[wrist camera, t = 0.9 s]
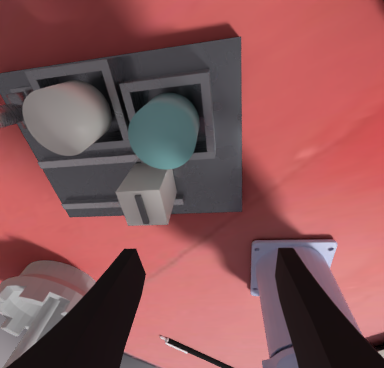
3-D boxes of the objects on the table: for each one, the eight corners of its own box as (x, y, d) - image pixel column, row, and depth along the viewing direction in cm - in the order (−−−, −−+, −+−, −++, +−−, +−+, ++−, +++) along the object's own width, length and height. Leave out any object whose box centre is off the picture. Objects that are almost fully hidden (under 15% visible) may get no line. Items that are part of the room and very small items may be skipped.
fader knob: (176, 192, 19) (167, 226, 15) (143, 193, 19) (127, 227, 16) (170, 161, 17) (158, 191, 14) (134, 163, 18) (114, 193, 14)
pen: (162, 332, 37) (160, 340, 36) (241, 369, 42) (242, 377, 42) (159, 334, 38) (157, 341, 37) (238, 370, 43) (239, 378, 42)
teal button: (202, 147, 14) (199, 167, 12) (150, 151, 15) (138, 171, 13) (196, 89, 13) (191, 99, 10) (136, 96, 13) (119, 108, 11)
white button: (118, 135, 15) (100, 153, 12) (70, 140, 15) (43, 158, 13) (100, 76, 13) (73, 84, 10) (45, 84, 13) (8, 93, 11)
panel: (241, 204, 20) (244, 227, 18) (75, 210, 23) (57, 231, 20) (239, 36, 13) (244, 36, 11) (1, 73, 16) (-39, 79, 13)
